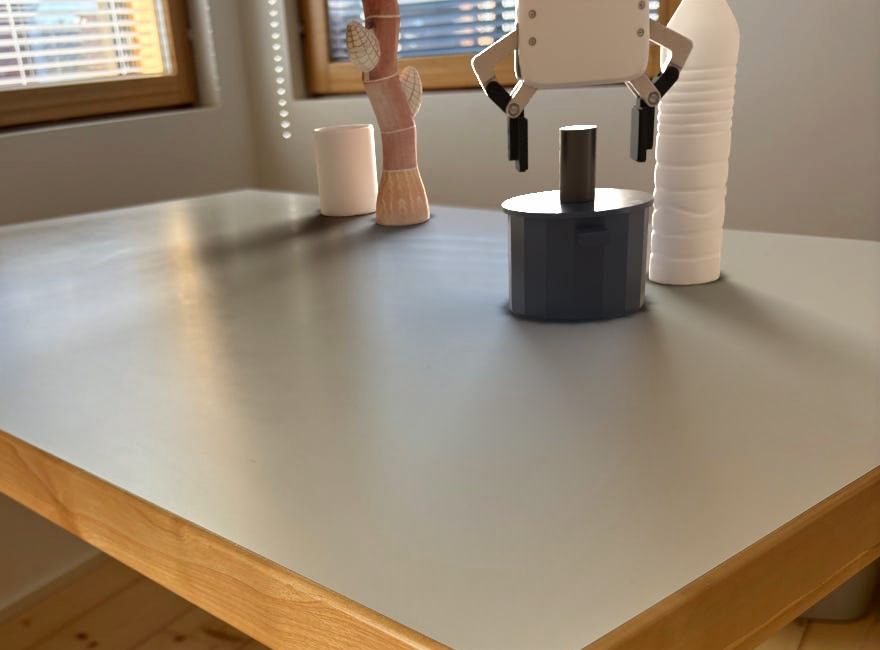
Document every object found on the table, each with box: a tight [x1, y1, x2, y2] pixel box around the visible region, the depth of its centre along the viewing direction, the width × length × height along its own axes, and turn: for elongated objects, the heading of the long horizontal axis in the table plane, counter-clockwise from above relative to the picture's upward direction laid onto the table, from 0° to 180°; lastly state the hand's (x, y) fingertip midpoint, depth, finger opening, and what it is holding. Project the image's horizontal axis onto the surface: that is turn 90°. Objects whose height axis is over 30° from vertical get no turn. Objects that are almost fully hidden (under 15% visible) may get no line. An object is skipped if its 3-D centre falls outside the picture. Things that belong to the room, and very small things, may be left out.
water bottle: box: [648, 0, 741, 286], centre depth 92 cm, size 9×6×25 cm
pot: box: [507, 207, 650, 323], centre depth 89 cm, size 12×17×8 cm
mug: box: [312, 123, 379, 217], centre depth 148 cm, size 12×8×11 cm
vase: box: [345, 0, 431, 227], centre depth 131 cm, size 10×7×30 cm
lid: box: [501, 125, 654, 219], centre depth 86 cm, size 13×13×7 cm
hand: (579, 165), depth 85 cm, fingers open, 9 cm apart
